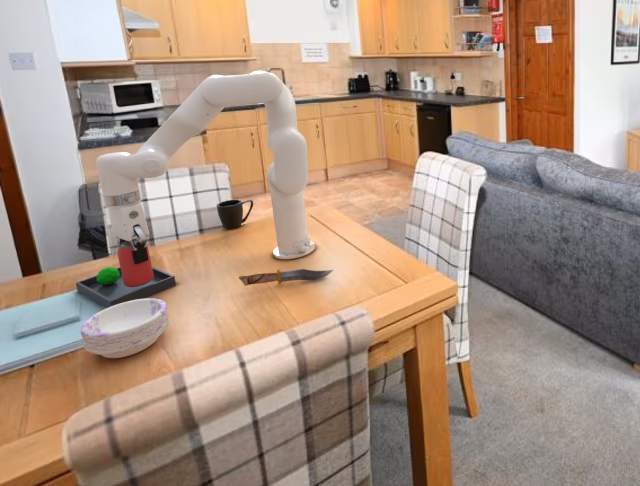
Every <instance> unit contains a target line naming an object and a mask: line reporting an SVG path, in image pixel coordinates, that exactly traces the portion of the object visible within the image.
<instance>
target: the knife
mask: <svg viewBox="0 0 640 486" xmlns="http://www.w3.org/2000/svg"><path fill="white" fill-rule="evenodd" d="M333 271H334V269H327V270H326V269H325V270H311V269H306V268H301V269H300V268H299V269H292V270H284V271H281V270H280V269H277V272H267V273H265V272H263V273H255V274H251V275H240V276H238V279H239V281H241V282H242V284H243V285H244V286H246V287H247V286H250V285H256V284H257V285H258V284H267V283H273V282H277V283H278V286H280V285H281V284H282V283H285V282H292V281H293V282H294V281H307V282H313V281H319V280H321V279H323V278H325V277H327V276H329V275H330V274H331V273H332V272H333Z"/></svg>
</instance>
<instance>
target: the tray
mask: <svg viewBox="0 0 640 486" xmlns="http://www.w3.org/2000/svg"><path fill="white" fill-rule="evenodd" d="M115 268H116V267H115ZM116 269H117V270H118V271H119V273H120V276H119V278H118V280H117V281H116V282H115V283H113V284H111V285H102V284H100V283H99V282H98V281H97V278H96V277H97V275H98V274H96V275H93V276H91V277H88V278H85V279H83V280H80V281H77V282H75V287H76V290H77V292H78V293H79V294H81V295H83V296H84V297H86V298H88V299H90V300H92V301H93V302H95V303H97V304H99V305H101V306H102V307H104V308H105V309H106V308H109V307H111V306H114V305H117V304H120V303H123V302H127V301H132V300H137V299H146V298H148V297H150V296H152V295H155V294H157V293H159V292H162V291H165V290H167V289H169V288H172V287H174V286H176V285H177V282H176V278H175V277H176V276H175V275H173V274H171V273H169V272H167V271H164V270H161V269H159V268H157V267H154V266H152V270H153V275H154V277H153V279H152V280H151V281H150V282H149V283H147V284H144V285H141V286H137V287H127V286H125V285H124V282H123V277H122V273H121V268H120V266H119V267H117V268H116Z"/></svg>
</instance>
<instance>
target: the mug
mask: <svg viewBox="0 0 640 486" xmlns="http://www.w3.org/2000/svg"><path fill="white" fill-rule="evenodd" d="M249 202H250V205H249V209H248V211H247V213H246V214H245V216H244V215H243V214H244V209H243V207H244V206H243V205H244V204H246V203H249ZM253 207H254V201H253V199H247V200H243V201H242V199H228V200H223V201H220V202H219V203H217V204H216V210H217V211H216V212H217V215H218V218H219V221H220V223H221V224H222V226H223V229H225V230H235V229H239V228H240V227H241V226H242V224H244V223H245V222H246V221H247V219H248V217H249V216H250V214H251V212H252V210H253Z"/></svg>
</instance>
